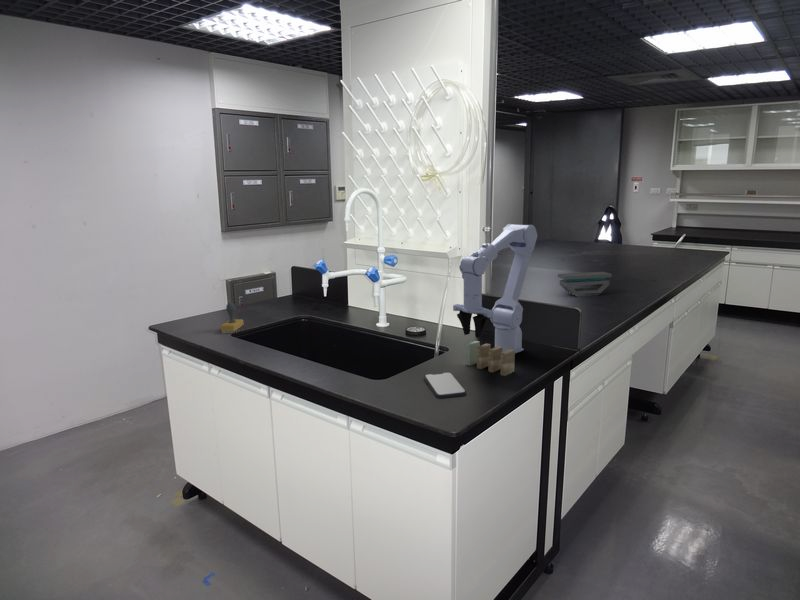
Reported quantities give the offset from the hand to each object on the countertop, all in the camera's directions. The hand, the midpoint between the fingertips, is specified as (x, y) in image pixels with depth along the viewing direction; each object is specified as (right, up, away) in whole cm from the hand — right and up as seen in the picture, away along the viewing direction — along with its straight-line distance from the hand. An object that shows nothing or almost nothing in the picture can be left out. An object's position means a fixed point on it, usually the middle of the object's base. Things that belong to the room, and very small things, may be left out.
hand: (472, 335), depth 168 cm
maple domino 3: (+10, -11, -8) cm, 17 cm away
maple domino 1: (+3, -10, -1) cm, 11 cm away
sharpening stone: (+71, +14, +100) cm, 123 cm away
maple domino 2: (+6, -10, -4) cm, 13 cm away
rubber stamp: (-93, -2, +50) cm, 106 cm away
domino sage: (0, -9, +2) cm, 10 cm away
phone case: (-10, -14, -17) cm, 24 cm away
